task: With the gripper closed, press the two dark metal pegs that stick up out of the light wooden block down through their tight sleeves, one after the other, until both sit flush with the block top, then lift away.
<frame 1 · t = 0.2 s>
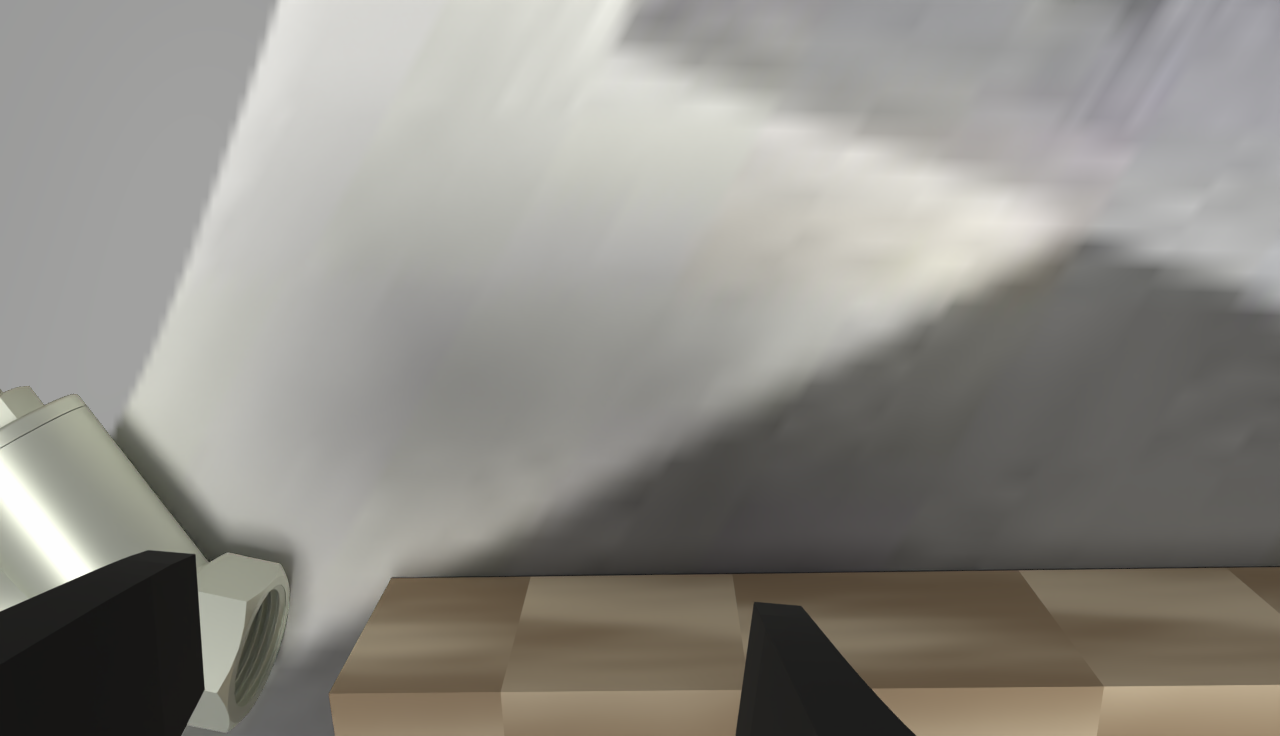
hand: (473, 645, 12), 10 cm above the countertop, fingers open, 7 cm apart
pipe fitting: (145, 509, 23), on the countertop
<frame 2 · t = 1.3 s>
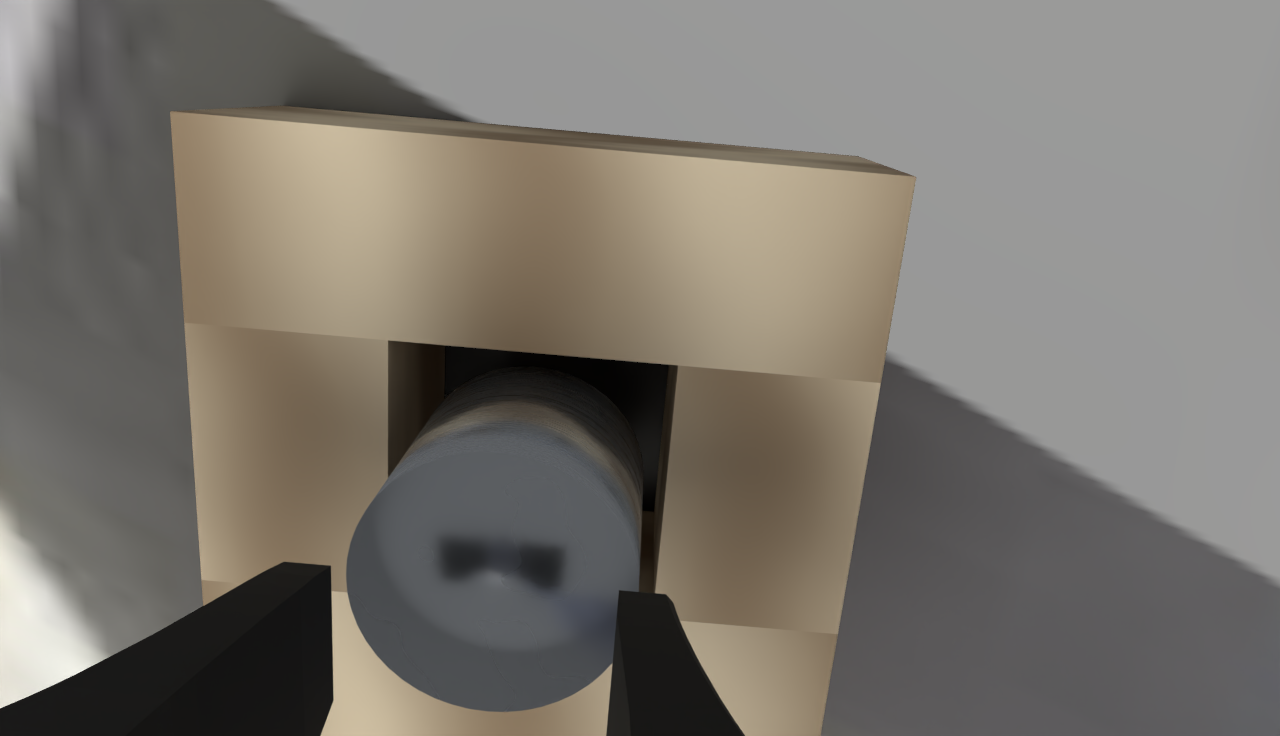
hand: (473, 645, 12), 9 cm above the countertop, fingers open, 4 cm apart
peg a: (513, 524, 15), point 6 cm above the countertop, slide at 3.5 cm
socket block: (540, 631, 22), on the countertop
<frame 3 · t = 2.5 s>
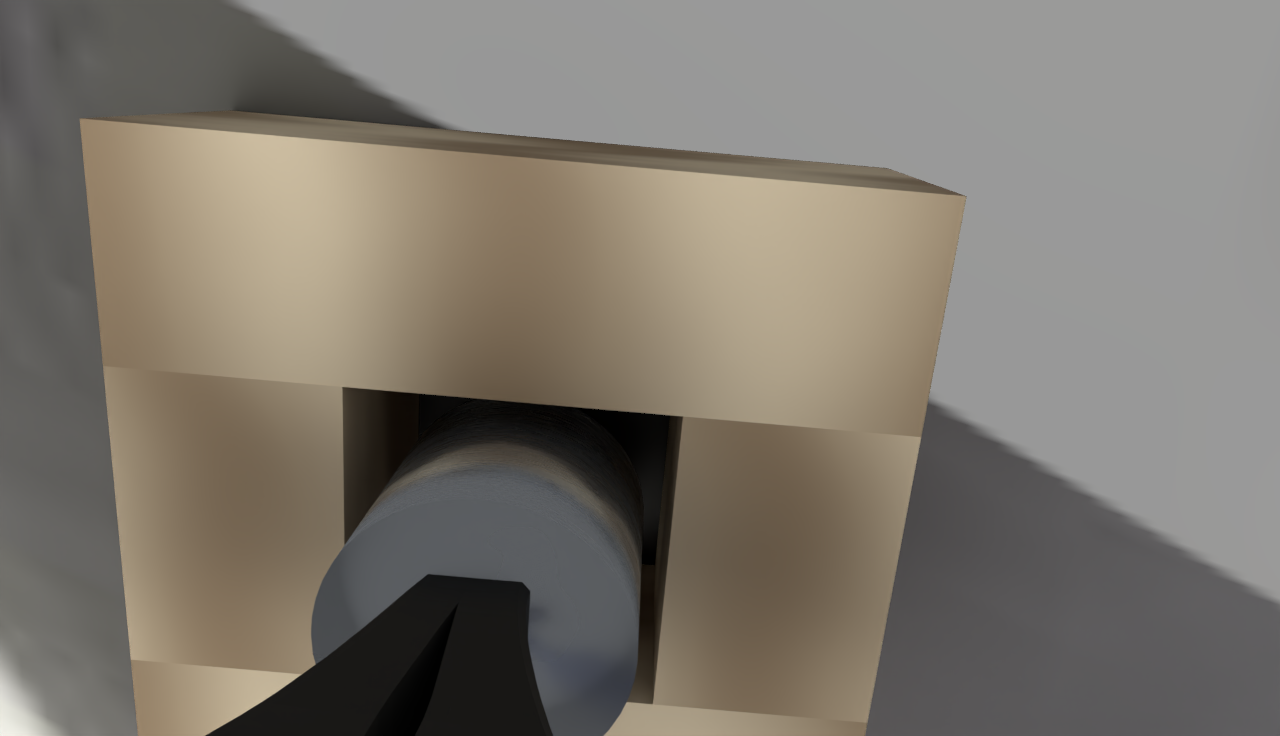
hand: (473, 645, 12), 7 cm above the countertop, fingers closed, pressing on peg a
peg a: (500, 569, 14), point 5 cm above the countertop, slide at 2.5 cm, touching gripper
socket block: (528, 696, 20), on the countertop
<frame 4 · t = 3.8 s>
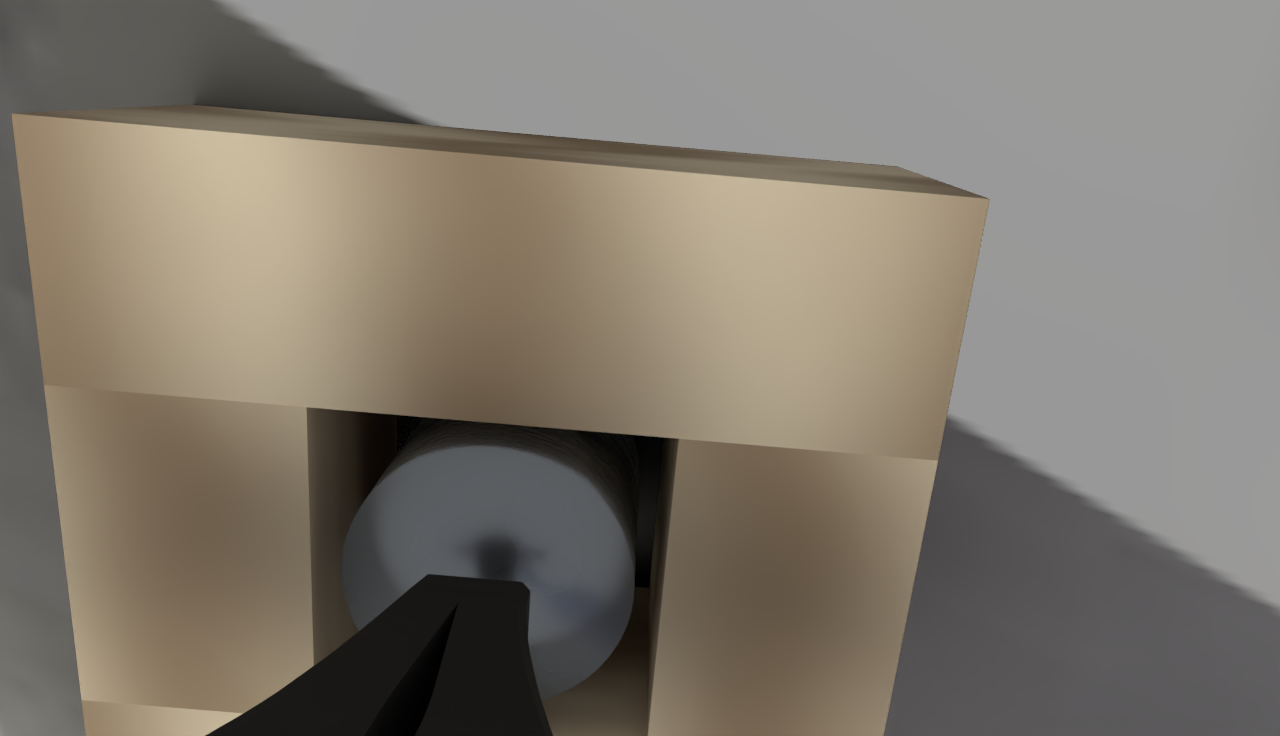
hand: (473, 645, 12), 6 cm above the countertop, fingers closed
peg a: (509, 519, 15), point 2 cm above the countertop, slide at -0.1 cm
socket block: (515, 724, 19), on the countertop
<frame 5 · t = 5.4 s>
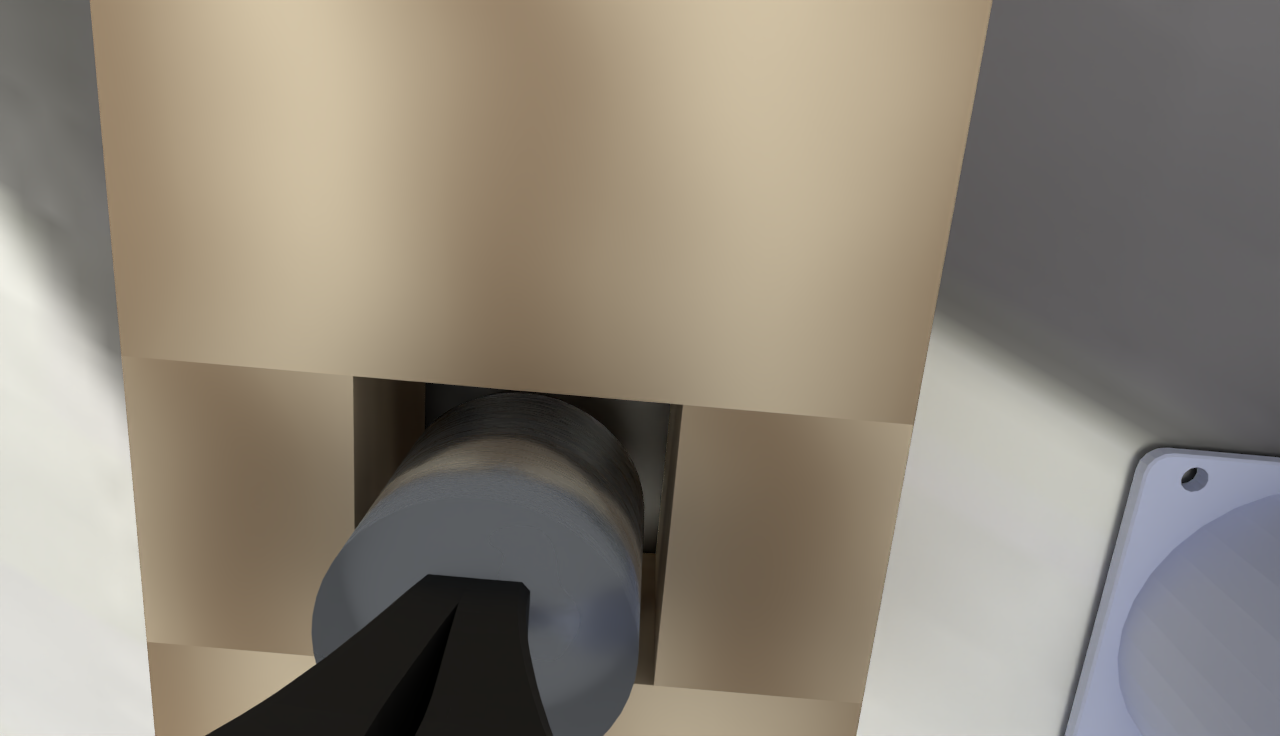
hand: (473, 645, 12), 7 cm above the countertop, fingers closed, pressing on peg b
peg b: (501, 568, 14), point 5 cm above the countertop, slide at 2.9 cm, touching gripper
socket block: (562, 136, 17), on the countertop
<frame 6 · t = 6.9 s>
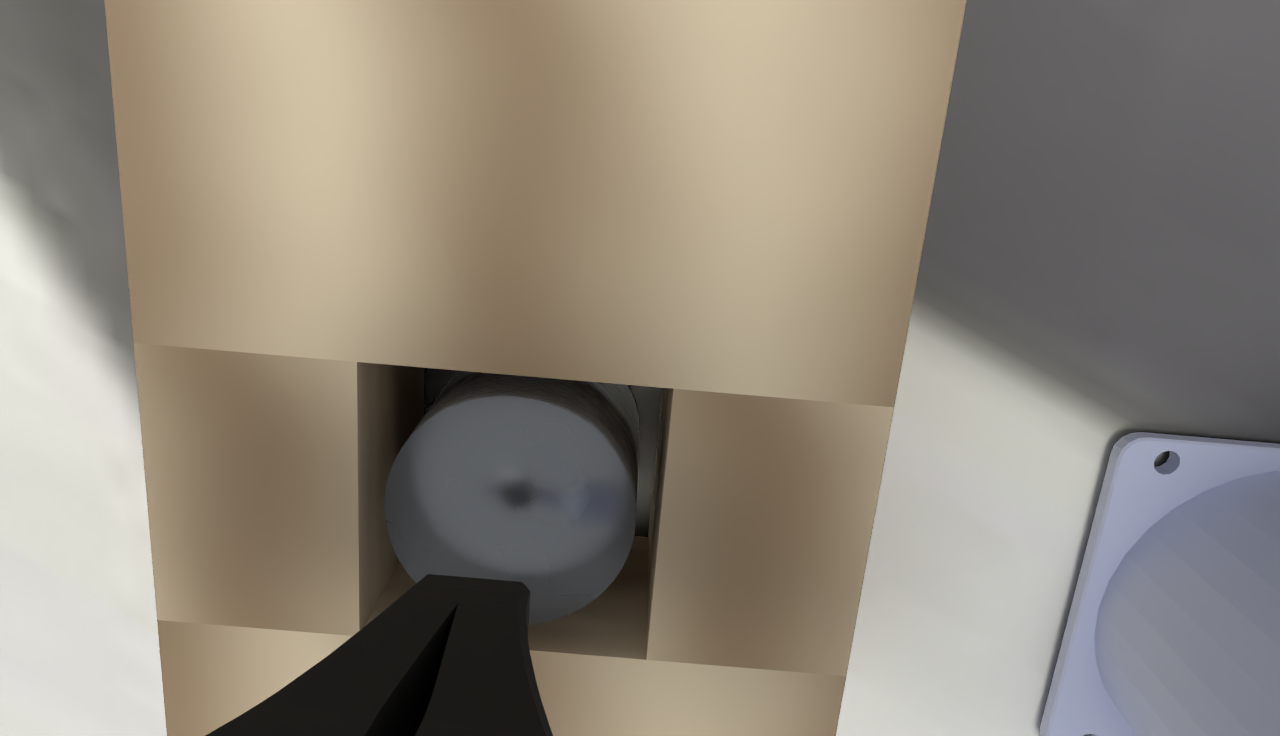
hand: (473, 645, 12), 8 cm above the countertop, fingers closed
peg b: (526, 467, 17), point 2 cm above the countertop, slide at -0.1 cm
socket block: (557, 132, 18), on the countertop
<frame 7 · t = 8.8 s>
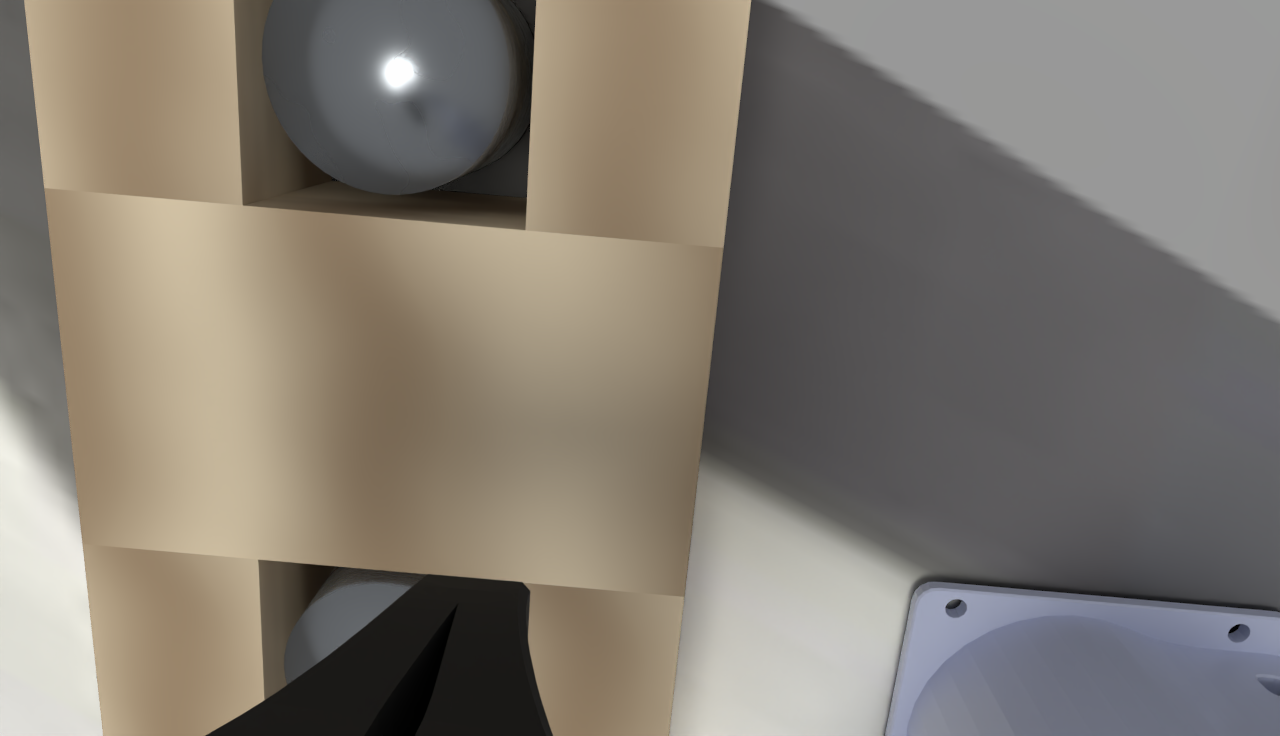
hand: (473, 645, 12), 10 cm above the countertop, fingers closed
peg b: (410, 621, 21), point 2 cm above the countertop, slide at -0.1 cm
peg a: (416, 71, 17), point 2 cm above the countertop, slide at -0.1 cm
socket block: (440, 341, 21), on the countertop
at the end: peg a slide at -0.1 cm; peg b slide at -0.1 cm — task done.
